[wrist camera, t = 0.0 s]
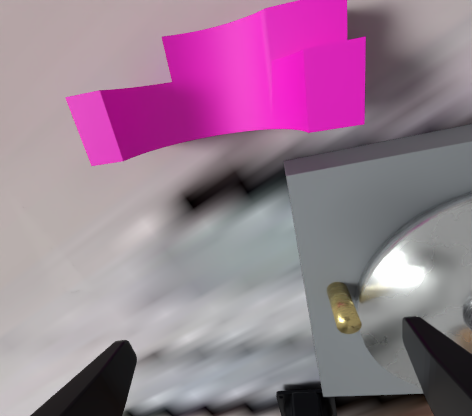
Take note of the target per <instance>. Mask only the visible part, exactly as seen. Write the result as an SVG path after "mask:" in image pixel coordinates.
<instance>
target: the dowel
mask: <svg viewBox="0 0 472 416" xmlns="http://www.w3.org/2000/svg"><path fill="white" fill-rule="evenodd" d="M327 295H328V298H329V302H330V305H331V309H332V312H333V316H334V319H335V323H336V326H337V329H338V330H339V331H340V332H341V333H344V334H353V333H356V332H358V331H359V330H360V329H361V326H362V323H361V321H360V318H359V316H358V313H357V311H356V308H355V306H354V303H353V301H352V298H351V295H350V293H349V290H348V288H347V286H346V285H345V284H344V283H342V282H334V283H331V284H330V285H329V286H328V287H327Z"/></svg>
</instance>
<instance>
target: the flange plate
mask: <svg viewBox="0 0 472 416" xmlns="http://www.w3.org/2000/svg"><path fill="white" fill-rule="evenodd" d="M354 306H355V308H356V311H357V313H358V316H359V318H360V321H361V323H362V326H361V329H360V333H361V336H362V338H363V341H364V344H365V346H366V347H367V349H368V351H369V352H370V354H371V355H372V356H373V358H374V359H375V360H376V361H377V362H378V363H379V364H380V365H381V366H382V367H383V368H385V369H386V370H387V371H388V372H390V373H391V374H393V375H395V376H396V377H398V378H400V379H402V380H404V381H406V382H408V383H410V384H413V385H416V386H418V387H421V385H420V383H419V380H418V378H417V376H416V373H415V371H414V368H413V366H412V363H411V361H410V358H409V356H408V353H407V351H406V348H405V346H404V343H403V339H402V320H403V318H404V317H408V316H419V317H421V318H422V319H424V320H425V321H427V322H428V323H429V324H431V325H432V326H434V327H435V328H436V329H438V330H439V331H440V332H442V333H443V334H445V335H446V336H447V337H449V338H450V339H452V340H453V341H454V342H456V343H457V344H459V345H460V346H461V347H463V348H464V349H466V350H467V351H468V352H470V353H471V354H472V192H470V193H466V194H463V195H460V196H457V197H454V198H452V199H450V200H447V201H445V202H443V203H440V204H438V205H436V206H434V207H432V208H430V209H428V210H426V211H425V212H423V213H421V214H419V215H418V216H416V217H415V218H413V219H412V220H410V221H409V222H407V223H406V224H404V225H403V226H402V227H400V228H399V229H398V230H397V231H396V232H394V233H393V234H392V235H391V236H390V237H389V238H388V239H387V240H386V241H385V242H384V243H383V244H382V245H381V246H380V247H379V248H378V249H377V251H376V252H375V253H374V255H373V256H372V257H371V259H370V260H369V262H368V263H367V265H366V267H365V269H364V271H363V272H362V274H361V277H360V280H359V282H358V285H357V288H356V294H355V299H354Z"/></svg>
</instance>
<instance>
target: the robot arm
mask: <svg viewBox="0 0 472 416" xmlns="http://www.w3.org/2000/svg"><path fill="white" fill-rule="evenodd" d="M402 339H403V343H404V346H405V348H406V351H407V353H408V356H409V358H410V361H411V363H412V366H413V368H414V371H415V373H416V376H417V378H418V380H419V383H420V385H421V388H422V390H423V393H424V395H425V397H426V400H427V402H428V404H429V406H430V408H431V410H432V412H433V414H434V416H472V354H471V353H470V352H468V351H467V350H466V349H464V348H463V347H461V346H460V345H459V344H457V343H456V342H454V341H453V340H452V339H450V338H449V337H447V336H446V335H445V334H443V333H442V332H440V331H439V330H438V329H436V328H435V327H434V326H432V325H431V324H429V323H428V322H427V321H425V320H424V319H422V318H421V317H419V316H408V317H404V318H403V320H402ZM136 362H137V357H136V354H135V352H134V350H133V348H132V346H131V345H130V343H129V341H127V340H120V341H116V342H114V343H113V344H112V345H111V346H110V347H108V348H107V349H106V350H105V351H104V352H103V353H102V354H100V355H99V356H98V357H97V358H96V359H95V360H94V361H92V362H91V363H90V364H89V365H88V366H87V367H85V368H84V369H83V370H82V371H81V372H80V373H79V374H77V375H76V376H75V377H74V378H73V379H72V380H71V381H69V382H68V383H67V384H66V385H65V386H64V387H63V388H61V389H60V390H59V391H58V392H57V393H56V394H55V395H53V396H52V397H51V398H50V399H49V400H48V401H47V402H45V403H44V404H43V405H42V406H41V407H40V408H39V409H37V410H36V411H35V412H34V413H33V414H32V415H31V416H122V414H123V411H124V408H125V404H126V401H127V397H128V393H129V389H130V386H131V382H132V378H133V374H134V370H135V367H136ZM277 401H278V405H279V408H280V412H281V416H337V412H336V405H335V398H334V396H333V397H323V393H322V389H316V390H290V391H278V392H277Z"/></svg>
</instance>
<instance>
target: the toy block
mask: <svg viewBox="0 0 472 416" xmlns="http://www.w3.org/2000/svg"><path fill="white" fill-rule="evenodd" d="M162 41H163V45H164V49H165V53H166V57H167V62H168V66H169V70H170V74H171V79H172V82H170V83H164V84H157V85H150V86H142V87H134V88H125V89H114V90H99V91H94V92H90V93H85V94H80V95H75V96H70V97H65V98H66V101H67V103H68V106H69V108H70V111H71V114H72V116H73V119H74V121H75V124H76V127H77V129H78V132H79V134H80V137H81V140H82V142H83V145H84V147H85V150H86V153H87V155H88V158H89V160H90V163H91V166H95V165H102V164H108V163H115V162H121V161H125V160H127V159H130V158H132V157H135V156H138V155H140V154H143V153H146V152H149V151H153V150H156V149H159V148H163V147H166V146H170V145H174V144H178V143H182V142H187V141H191V140H196V139H200V138H206V137H211V136H216V135H222V134H229V133H236V132H244V131H253V130H265V129H294V130H302V131H305V132H308V133H311V132H317V131H324V130H330V129H337V128H343V127H350V126H356V125H363V124H364V120H365V46H366V36H365V37H360V38H355V39H350V40H347V0H299V1H295V2H290V3H286V4H282V5H277V6H273V7H269V8H265V9H263V10H261V11H259V12H257V13H255V14H252V15H250V16H247V17H245V18H242V19H239V20H236V21H234V22H230V23H227V24H224V25H220V26H217V27H213V28H209V29H205V30H200V31H195V32H190V33H185V34H179V35H172V36H164V37H162Z"/></svg>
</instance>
